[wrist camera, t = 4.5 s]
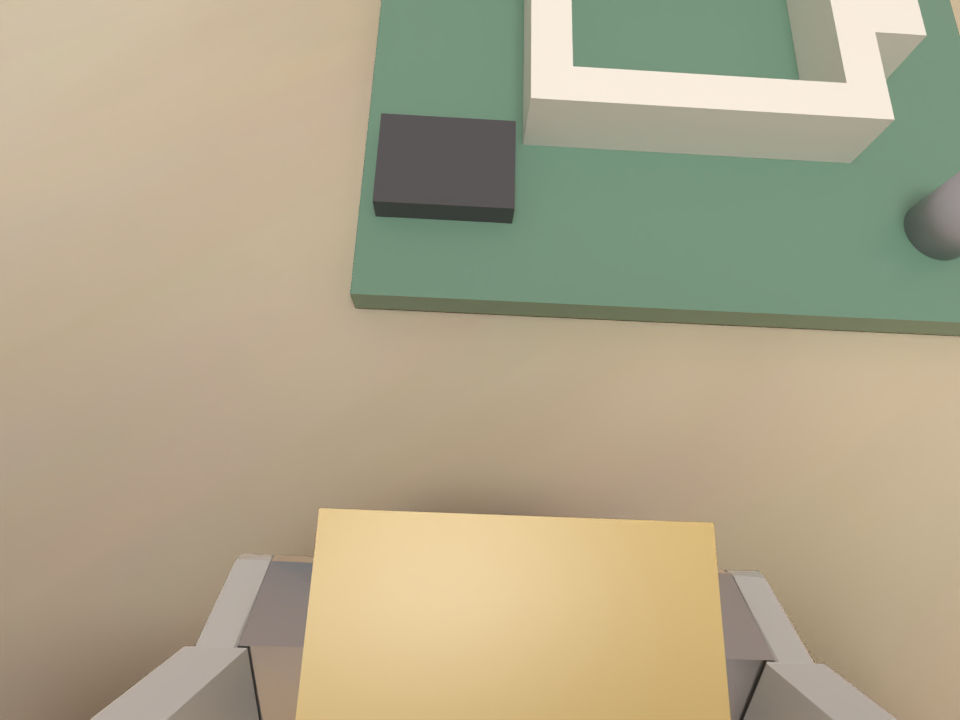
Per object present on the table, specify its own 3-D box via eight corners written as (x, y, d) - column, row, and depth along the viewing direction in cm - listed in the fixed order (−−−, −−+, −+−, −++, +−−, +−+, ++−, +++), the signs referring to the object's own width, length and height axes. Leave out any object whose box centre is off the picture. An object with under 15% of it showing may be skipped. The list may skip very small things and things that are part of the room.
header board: (355, 307, 18) (337, 260, 15) (403, -155, 24) (396, -250, 21) (1011, 338, 19) (1112, 298, 16) (891, -119, 25) (948, -206, 22)
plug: (377, 673, 15) (283, 827, 6) (388, 536, 16) (318, 507, 7) (573, 678, 15) (741, 835, 6) (571, 542, 16) (713, 522, 7)
